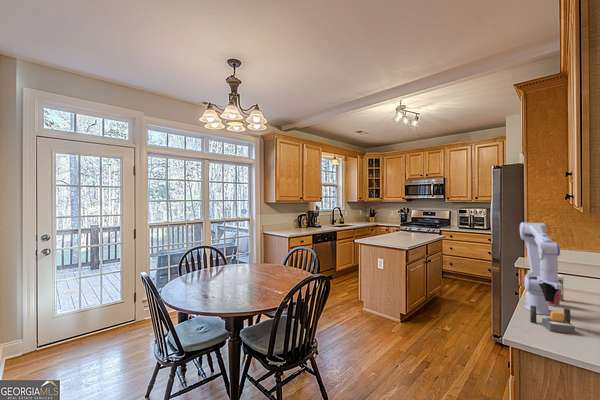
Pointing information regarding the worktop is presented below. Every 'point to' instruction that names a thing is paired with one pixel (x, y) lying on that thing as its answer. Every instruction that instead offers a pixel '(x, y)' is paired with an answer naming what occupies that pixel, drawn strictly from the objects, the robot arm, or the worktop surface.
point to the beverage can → (555, 300)
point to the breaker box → (558, 326)
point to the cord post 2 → (567, 315)
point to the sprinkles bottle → (560, 279)
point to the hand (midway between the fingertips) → (549, 301)
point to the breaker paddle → (557, 316)
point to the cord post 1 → (533, 314)
